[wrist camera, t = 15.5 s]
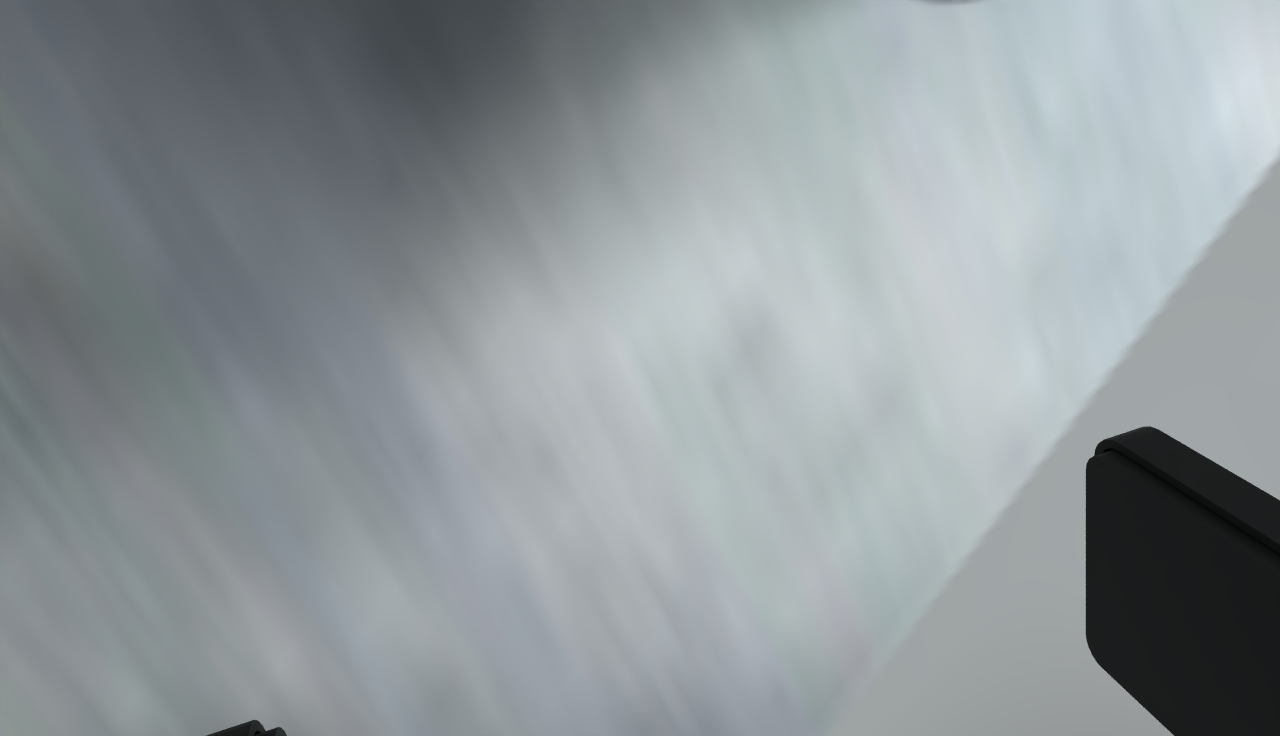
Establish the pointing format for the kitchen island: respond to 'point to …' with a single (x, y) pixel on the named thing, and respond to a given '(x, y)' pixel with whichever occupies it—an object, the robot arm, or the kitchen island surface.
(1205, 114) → the kitchen island surface
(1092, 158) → the kitchen island surface
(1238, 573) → the robot arm
